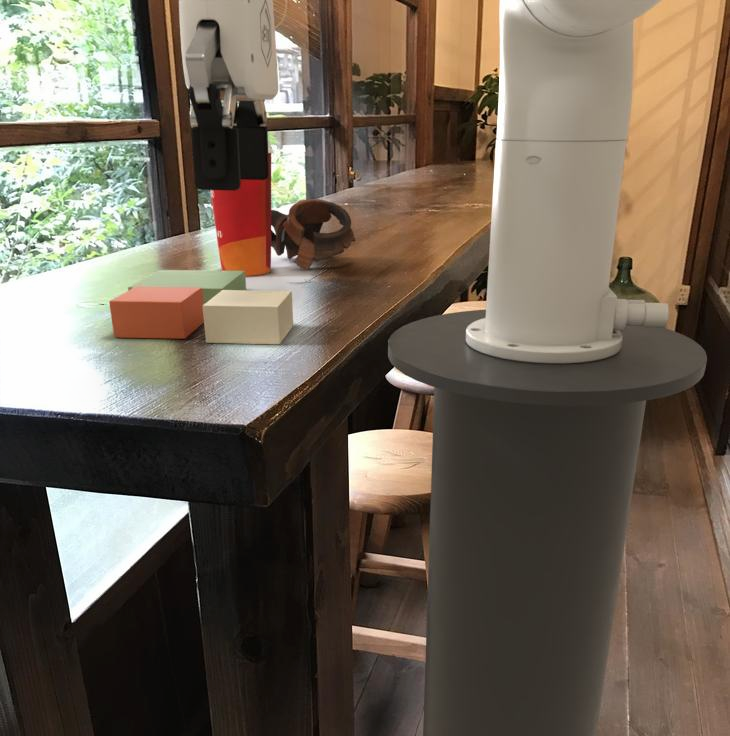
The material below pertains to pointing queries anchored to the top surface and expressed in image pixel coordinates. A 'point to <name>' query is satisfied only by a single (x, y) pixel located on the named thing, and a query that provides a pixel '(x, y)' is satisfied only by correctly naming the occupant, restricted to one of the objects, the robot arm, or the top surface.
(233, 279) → the sage green pad
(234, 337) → the cream rectangular block
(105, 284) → the top surface
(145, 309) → the orange rectangular block
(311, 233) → the brown coiled band
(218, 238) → the paper cup
